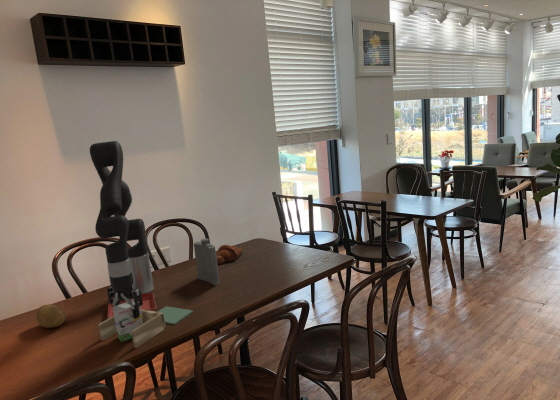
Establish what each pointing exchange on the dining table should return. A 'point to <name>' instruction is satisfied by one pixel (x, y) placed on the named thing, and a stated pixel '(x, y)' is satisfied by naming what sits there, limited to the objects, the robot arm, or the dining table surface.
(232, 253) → the pastry
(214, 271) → the hip flask
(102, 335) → the beige u-shaped bracket
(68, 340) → the dining table surface
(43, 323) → the potato
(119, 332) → the ink box
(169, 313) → the mat
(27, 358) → the dining table surface
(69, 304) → the dining table surface
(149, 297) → the plant saucer
